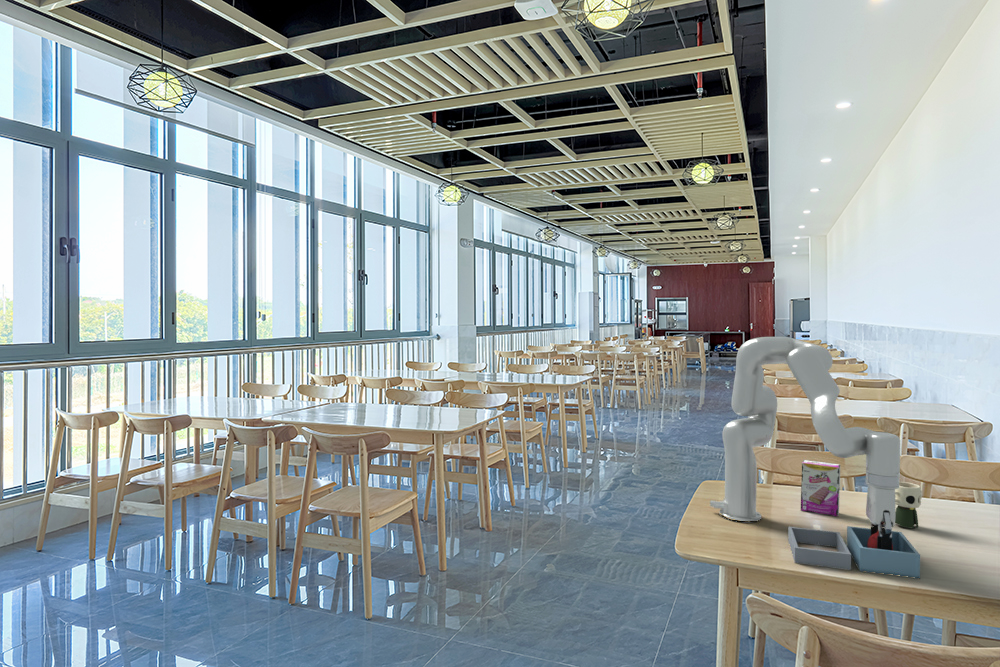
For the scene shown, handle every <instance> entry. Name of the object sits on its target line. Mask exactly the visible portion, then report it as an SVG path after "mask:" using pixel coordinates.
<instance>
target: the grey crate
mask: <svg viewBox="0 0 1000 667" xmlns="http://www.w3.org/2000/svg"><path fill="white" fill-rule="evenodd" d="M787 530H788V535H787V537H788V538H787V539H788V540H787V541H788V544H790V545H789V547H791V548H790V551H792V552H791V554H793V555H792V558H793V561H794V563H796V564H800V565H801V564H802V565H808V566H809V565H811V566H816V565H819V566H818V567H824V566H825V567H826V568H834V569H841V570H842V569H843V570H848V571H851V570H852V556H851V553H850V552H849V550H848V548H847V543H846V542H845V541H844V539H843V537H842V535H841V534H840V532H839V531H831V530H821V529H812V528H804V527H802V528H801V527H796V526H788V529H787ZM799 542H800V544H810V545H818V546H827V547H833V548H836V550H837V551H832V550H826V549H825V550H824V549H819V548H810V547H801V546H800V547H799V545H798V543H799ZM825 567H824V568H825Z"/></svg>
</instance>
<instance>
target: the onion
mask: <svg viewBox="0 0 1000 667" xmlns="http://www.w3.org/2000/svg"><path fill="white" fill-rule="evenodd" d="M877 536H879V532H877V533H875V534H873V535H871V536H870V537H869V539H868V543H867V546H868V548H874V549H877ZM892 551H893V544H892Z"/></svg>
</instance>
